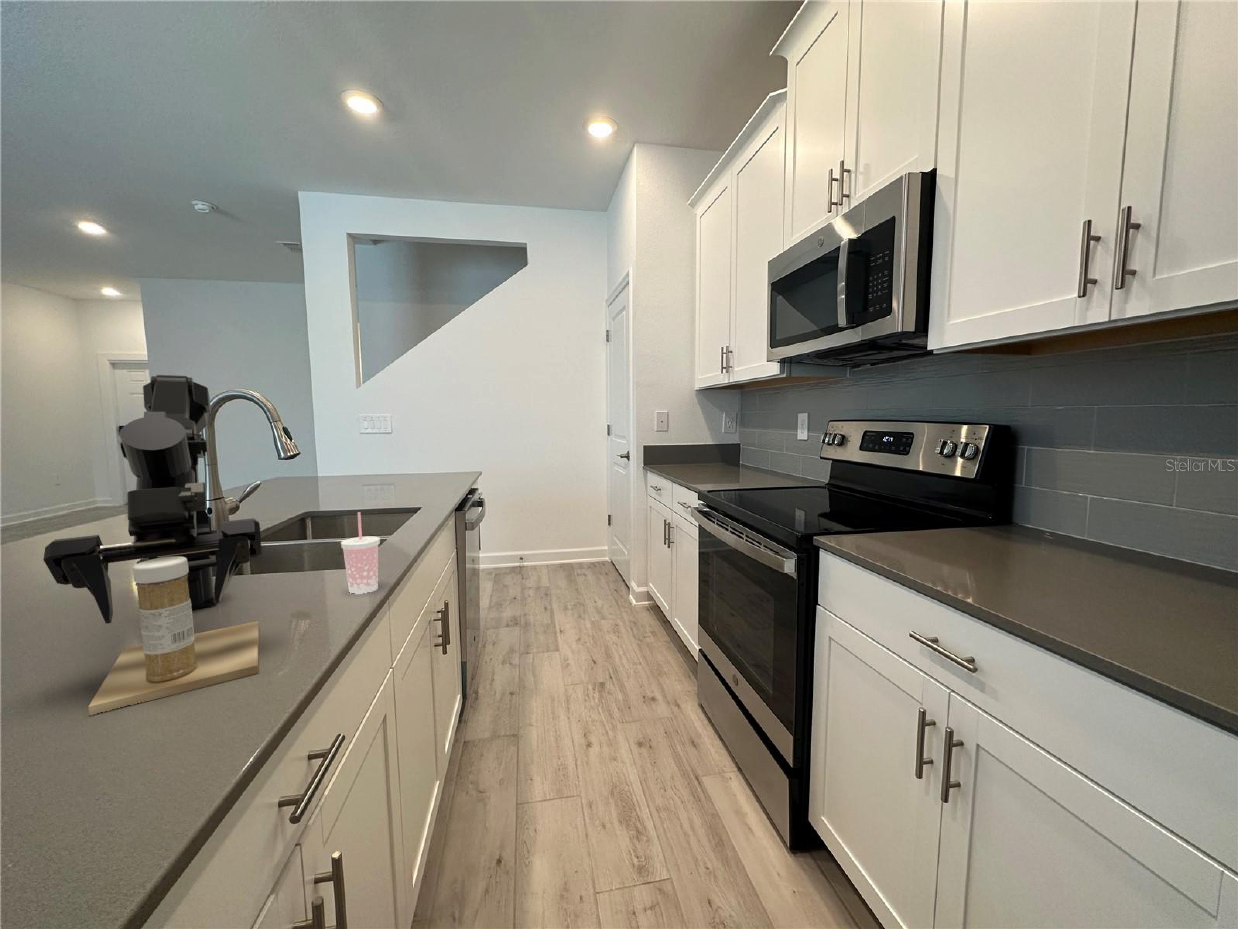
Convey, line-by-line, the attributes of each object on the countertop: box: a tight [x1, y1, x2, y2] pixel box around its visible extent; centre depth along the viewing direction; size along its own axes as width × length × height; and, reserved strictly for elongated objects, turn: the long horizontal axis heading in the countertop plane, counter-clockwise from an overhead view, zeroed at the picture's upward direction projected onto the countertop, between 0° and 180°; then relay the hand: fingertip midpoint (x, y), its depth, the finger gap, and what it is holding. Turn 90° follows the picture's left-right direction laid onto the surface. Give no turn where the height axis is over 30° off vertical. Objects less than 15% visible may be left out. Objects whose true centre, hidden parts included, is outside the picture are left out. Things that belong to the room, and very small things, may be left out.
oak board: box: [88, 620, 260, 716], centre depth 61 cm, size 16×14×1 cm
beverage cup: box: [340, 511, 381, 595], centre depth 86 cm, size 6×6×14 cm
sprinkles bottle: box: [132, 556, 197, 682], centre depth 56 cm, size 5×5×14 cm
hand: (165, 611), depth 56 cm, fingers open, 9 cm apart
